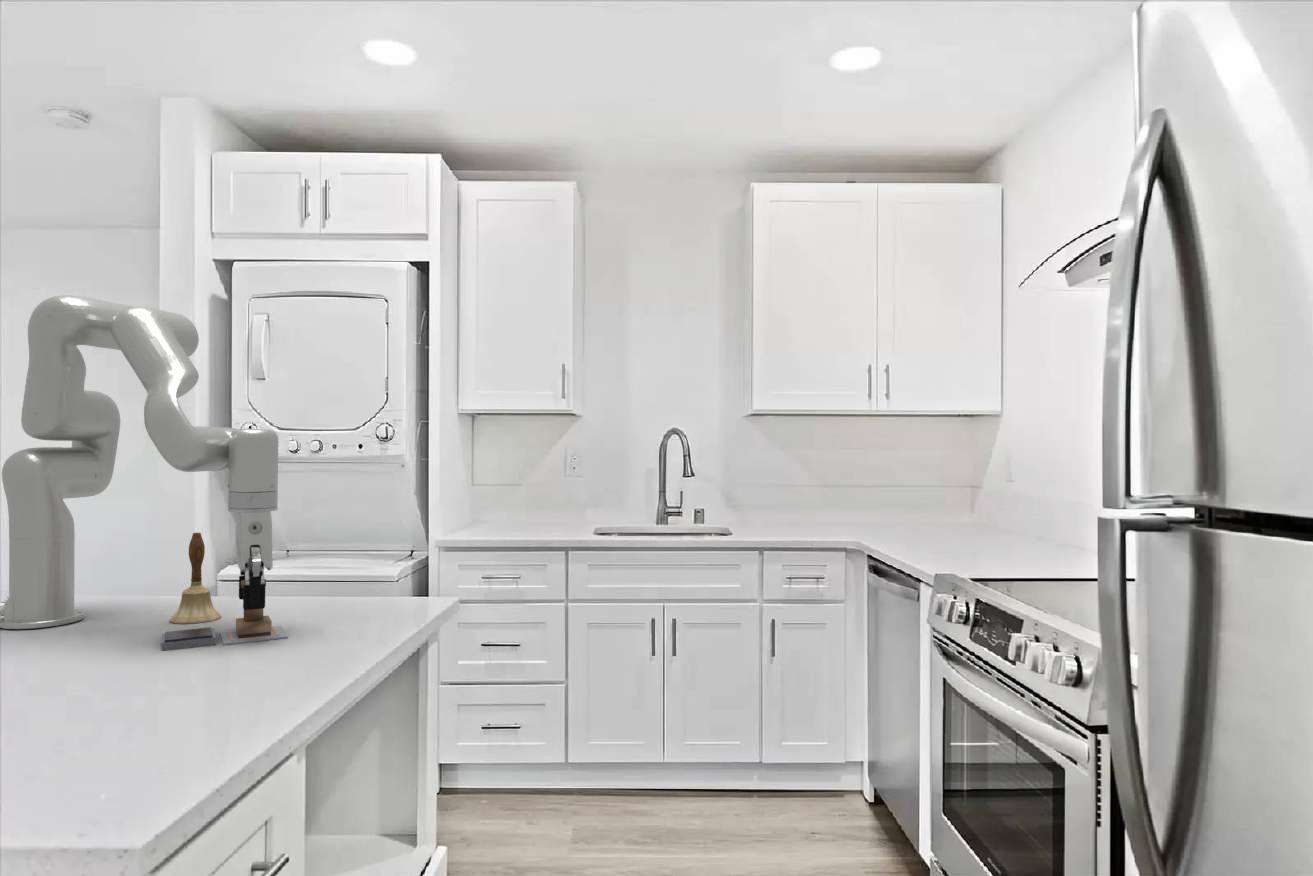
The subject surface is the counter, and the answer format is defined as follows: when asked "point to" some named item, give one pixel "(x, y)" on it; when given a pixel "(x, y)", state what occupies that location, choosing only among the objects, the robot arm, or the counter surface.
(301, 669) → the counter surface
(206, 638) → the ink pad
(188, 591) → the hand bell
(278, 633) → the card
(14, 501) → the robot arm
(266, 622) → the stamp
